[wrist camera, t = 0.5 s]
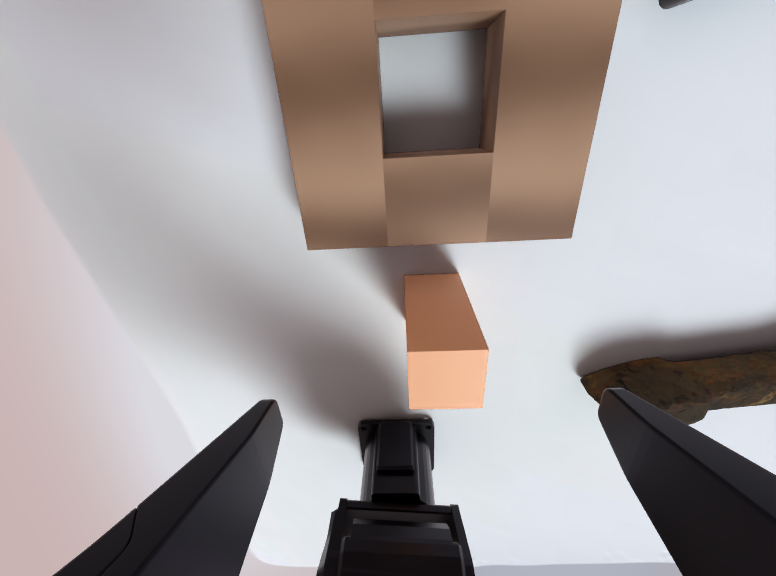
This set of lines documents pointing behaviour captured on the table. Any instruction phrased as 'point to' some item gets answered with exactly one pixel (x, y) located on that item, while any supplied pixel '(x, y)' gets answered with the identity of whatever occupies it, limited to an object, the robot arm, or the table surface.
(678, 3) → the multiport hub
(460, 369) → the peg
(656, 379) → the brown long rough piece
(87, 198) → the table surface
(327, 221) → the socket block
